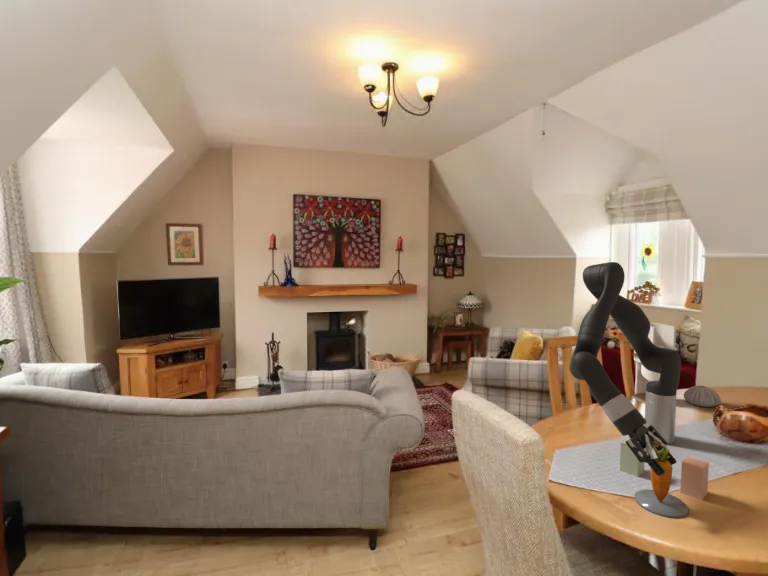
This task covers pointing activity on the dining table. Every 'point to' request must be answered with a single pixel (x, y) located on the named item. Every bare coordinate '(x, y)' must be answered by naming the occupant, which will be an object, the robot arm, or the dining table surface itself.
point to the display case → (660, 338)
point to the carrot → (663, 481)
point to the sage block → (630, 461)
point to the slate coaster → (661, 504)
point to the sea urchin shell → (702, 396)
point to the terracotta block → (694, 477)
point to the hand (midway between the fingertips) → (668, 469)
